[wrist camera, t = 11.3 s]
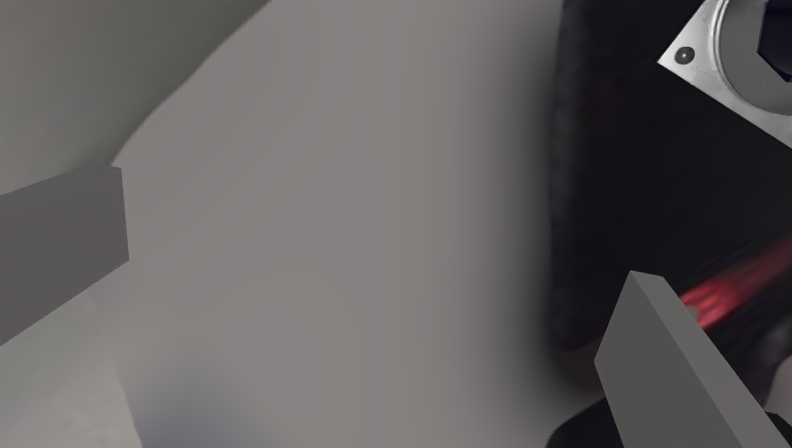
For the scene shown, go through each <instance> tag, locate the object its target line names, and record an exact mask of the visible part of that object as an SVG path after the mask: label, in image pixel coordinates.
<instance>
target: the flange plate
mask: <svg viewBox="0 0 792 448" xmlns="http://www.w3.org/2000/svg"><path fill="white" fill-rule="evenodd" d="M767 1H768V0H702V2H701V3H700V4H699V6H698V7H697V8H696V9H695V11H694V12H693V13H692V15H691V16H690V17H689V18H688V20H687V21H686V22H685V24H684V25H683V26H682V27H681V29H680V30H679V31H678V33H677V34H676V35H675V36H674V38H673V39H672V40H671V42H670V43H669V44H668V46H667V47H666V48H665V49H664V51H663V52H662V53H661V55H660V56H659V57H658V58H657V60H656V61H655V62H656V63H658V64H660V65H661V66H663V67H664V68H666V69H667V70H669V71H670V72H672V73H674V74H675V75H677V76H678V77H680V78H681V79H683V80H684V81H686V82H688V83H689V84H691V85H692V86H694V87H695V88H697V89H698V90H700V91H702V92H703V93H705V94H706V95H708V96H709V97H711V98H712V99H714V100H716V101H717V102H719V103H720V104H722V105H723V106H725V107H726V108H728V109H730V110H731V111H733V112H734V113H736V114H737V115H739V116H740V117H742V118H743V119H745V120H747V121H748V122H750V123H751V124H753V125H754V126H756V127H757V128H759V129H761V130H762V131H764V132H765V133H767V134H768V135H770V136H771V137H773V138H775V139H776V140H778V141H779V142H781V143H782V144H784V145H785V146H787V147H789V148H790V149H792V82H787V83H786V82H785V81H784V80H783V79H782V78H781V77H780V76H779V75H778V74H777V73H776V72H775V71H774V70H773V69H772V68H771V67H770V66H769V65H768V64H767V63H766V62H765V61H764V60H763V58H762V57H761V56H760V55H759V54H758V53H757V46H758V40H759V34H760V28H761V22H762V16H763V10H764V4H765V2H767Z"/></svg>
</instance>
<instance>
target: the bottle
mask: <svg viewBox="0 0 792 448" xmlns="http://www.w3.org/2000/svg"><path fill="white" fill-rule="evenodd" d="M757 53H758V54H759V55H760V56H761V57H762V58H763V60H764V61H765V62H766V63H767V64H768V65H769V66H770V67H771V68H772V69H773V70H774V71H775V72H776V73H777V74H778V75H779V76H780V77H781V78H782V79H783V80H784V81H785V82H786V83H787V82H792V0H768V1H767V2H765V4H764V10H763V16H762V22H761V28H760V34H759V40H758V46H757Z"/></svg>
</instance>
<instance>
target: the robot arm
mask: <svg viewBox="0 0 792 448" xmlns="http://www.w3.org/2000/svg"><path fill="white" fill-rule="evenodd" d="M121 175H122V174H121V168H117V167H112V166H107V165H102V164H97V163H92V164H89V165H87V166H84V167H81V168H78V169H75V170H72V171H69V172H67V173H64V174H61V175H58V176H55V177H52V178H50V179H47V180H44V181H41V182H38V183H35V184H32V185H30V186H27V187H24V188H21V189H18V190H15V191H13V192H10V193H7V194H4V195H1V196H0V346H1V345H3V344H4V343H6V342H7V341H9V340H10V339H12V338H13V337H15V336H16V335H18V334H19V333H21V332H22V331H24V330H25V329H27V328H28V327H30V326H31V325H33V324H34V323H36V322H37V321H39V320H40V319H42V318H43V317H45V316H46V315H48V314H49V313H51V312H52V311H54V310H55V309H57V308H58V307H60V306H61V305H63V304H64V303H66V302H67V301H69V300H70V299H72V298H73V297H75V296H76V295H78V294H79V293H81V292H82V291H84V290H85V289H87V288H88V287H90V286H91V285H92V284H94V283H95V282H97V281H99V280H100V279H101V278H103V277H104V276H106V275H108V274H109V273H110V272H112V271H113V270H115V269H116V268H118V267H120V266H121V265H122V264H124V263H125V262H127V261H129V254H128V242H127V232H126V220H125V209H124V197H123V186H122V176H121ZM594 363H595V365H596V368H597V371H598V374H599V377H600V380H601V383H602V385H603V388H604V391H605V394H606V397H607V400H608V402H609V405H610V408H611V411H612V414H613V416H614V419H615V422H616V425H617V428H618V431H619V433H620V436H621V439H622V442H623V445H624V448H792V426H791V425H789V424H788V423H787V422H786V421H785V420H784V419H782V418H781V417H780V416H779V415H778V414H773V413H769V412H765V411H763V409H762V408H761V407H760V405H759V404H758V403H757V401H756V400H755V399H754V397H753V396H752V395H751V393H750V392H749V391H748V389H747V388H746V387H745V385H744V384H743V383H742V381H741V380H740V379H739V377H738V376H737V375H736V373H735V372H734V371H733V369H732V368H731V367H730V366H729V364H728V363H727V362H726V360H725V359H724V358H723V356H722V355H721V354H720V352H719V351H718V350H717V348H716V347H715V346H714V344H713V343H712V342H711V340H710V339H709V338H708V336H707V335H706V334H705V332H704V331H703V330H702V328H701V327H700V326H699V324H698V323H697V322H696V320H695V319H694V318H693V316H692V315H691V314H690V312H689V311H688V310H687V308H686V307H685V306H684V304H683V303H682V302H681V300H680V299H679V298H678V296H677V295H676V294H675V292H674V291H673V290H672V288H671V287H670V286H669V284H668V283H667V282H666V280H665V279H664V278H663V277H660V276H655V275H650V274H645V273H640V272H635V271H630V272H629V275H628V277H627V280H626V282H625V285H624V287H623V290H622V292H621V295H620V297H619V300H618V302H617V305H616V307H615V310H614V313H613V315H612V318H611V320H610V323H609V325H608V328H607V330H606V333H605V335H604V338H603V340H602V343H601V345H600V348H599V350H598V353H597V355H596V358H595V361H594Z"/></svg>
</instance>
